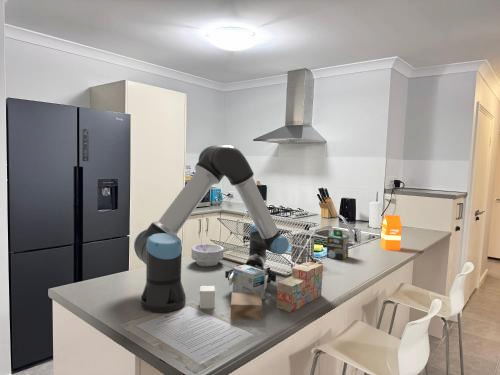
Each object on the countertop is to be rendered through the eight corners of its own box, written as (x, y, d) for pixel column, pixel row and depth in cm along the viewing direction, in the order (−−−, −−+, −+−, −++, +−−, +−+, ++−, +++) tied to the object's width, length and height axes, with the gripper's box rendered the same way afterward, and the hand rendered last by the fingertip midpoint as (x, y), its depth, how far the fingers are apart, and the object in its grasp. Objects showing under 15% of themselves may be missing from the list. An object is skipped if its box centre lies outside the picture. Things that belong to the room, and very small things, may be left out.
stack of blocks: (291, 313, 120) (292, 277, 119) (275, 307, 124) (277, 273, 123) (321, 295, 137) (323, 264, 135) (307, 291, 140) (308, 260, 139)
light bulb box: (265, 299, 131) (266, 270, 130) (252, 304, 126) (253, 274, 125) (244, 290, 138) (245, 263, 137) (231, 295, 133) (232, 267, 132)
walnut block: (230, 319, 114) (230, 304, 114) (231, 306, 124) (231, 292, 124) (261, 320, 114) (262, 305, 114) (260, 307, 124) (260, 293, 124)
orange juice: (400, 250, 211) (402, 216, 209) (385, 249, 211) (387, 216, 209) (394, 246, 218) (397, 214, 217) (380, 246, 219) (382, 214, 217)
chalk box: (348, 256, 193) (349, 229, 192) (342, 260, 185) (344, 232, 184) (331, 253, 198) (333, 227, 196) (325, 257, 190) (327, 229, 189)
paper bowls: (215, 270, 162) (215, 253, 162) (185, 266, 167) (185, 249, 166) (227, 261, 177) (228, 245, 176) (200, 257, 182) (200, 242, 181)
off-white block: (199, 308, 121) (200, 291, 121) (200, 302, 126) (200, 285, 126) (214, 308, 122) (215, 291, 121) (214, 302, 127) (214, 285, 126)
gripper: (226, 254, 151) (214, 270, 129) (284, 258, 148) (282, 275, 126) (225, 272, 151) (214, 290, 130) (283, 276, 148) (281, 296, 127)
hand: (247, 283), depth 128 cm, fingers closed on light bulb box, 12 cm apart
